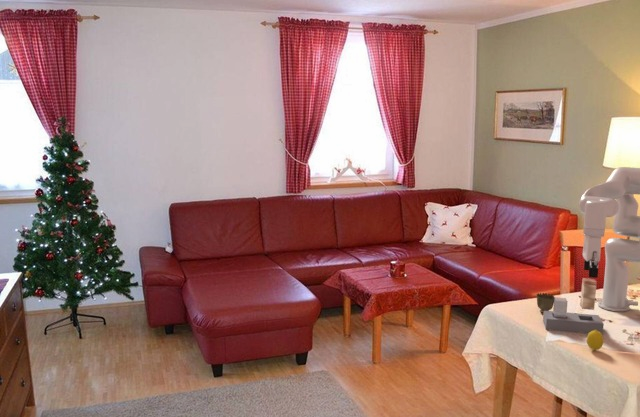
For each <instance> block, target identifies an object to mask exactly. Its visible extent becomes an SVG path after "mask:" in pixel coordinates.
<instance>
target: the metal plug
mask: <svg viewBox="0 0 640 417" xmlns="http://www.w3.org/2000/svg"><path fill="white" fill-rule="evenodd" d="M552 311H553V317H554V318H565V319H566V315H567V313H568V312H567V311H568V300H567V297H558V296H554V304H553V307H552Z"/></svg>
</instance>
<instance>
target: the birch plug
mask: <svg viewBox="0 0 640 417" xmlns="http://www.w3.org/2000/svg"><path fill="white" fill-rule="evenodd" d="M581 281H582V282H581V292H580V303H579V305H580V308H581V309H582V310H589V311H590V310H591V311H595V305H596V304H595V303H596V292H597V284H598V282H597V280H596V278H591V277H588V278H586V277H582V280H581Z"/></svg>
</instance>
